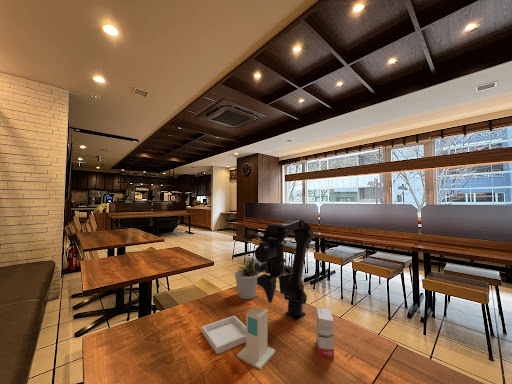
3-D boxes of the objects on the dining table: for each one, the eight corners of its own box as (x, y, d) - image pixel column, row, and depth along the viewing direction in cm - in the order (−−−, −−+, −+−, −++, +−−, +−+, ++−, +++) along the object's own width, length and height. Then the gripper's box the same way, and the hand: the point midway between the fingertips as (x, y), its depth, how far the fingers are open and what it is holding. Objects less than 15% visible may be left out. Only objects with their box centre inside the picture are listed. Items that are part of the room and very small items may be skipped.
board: (253, 342, 75) (253, 339, 75) (275, 353, 70) (275, 350, 70) (236, 358, 68) (236, 354, 68) (260, 371, 62) (260, 367, 63)
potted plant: (260, 301, 105) (261, 261, 106) (233, 301, 106) (233, 260, 106) (260, 291, 118) (261, 254, 119) (236, 290, 118) (236, 254, 119)
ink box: (334, 359, 68) (334, 321, 68) (318, 356, 69) (318, 319, 69) (330, 341, 76) (330, 307, 77) (316, 339, 77) (316, 306, 78)
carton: (254, 345, 72) (255, 306, 73) (267, 351, 69) (267, 310, 70) (245, 354, 68) (246, 312, 68) (258, 360, 65) (258, 317, 66)
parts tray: (234, 321, 88) (234, 315, 88) (253, 340, 76) (253, 333, 76) (201, 333, 80) (201, 326, 80) (216, 355, 68) (217, 347, 69)
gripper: (270, 249, 94) (270, 285, 94) (245, 258, 79) (244, 301, 78) (293, 253, 88) (293, 291, 87) (270, 263, 73) (270, 310, 72)
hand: (276, 297), depth 81 cm, fingers open, 9 cm apart
